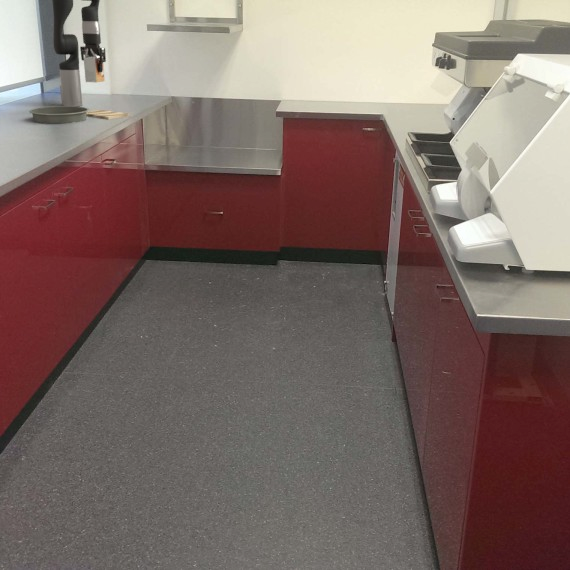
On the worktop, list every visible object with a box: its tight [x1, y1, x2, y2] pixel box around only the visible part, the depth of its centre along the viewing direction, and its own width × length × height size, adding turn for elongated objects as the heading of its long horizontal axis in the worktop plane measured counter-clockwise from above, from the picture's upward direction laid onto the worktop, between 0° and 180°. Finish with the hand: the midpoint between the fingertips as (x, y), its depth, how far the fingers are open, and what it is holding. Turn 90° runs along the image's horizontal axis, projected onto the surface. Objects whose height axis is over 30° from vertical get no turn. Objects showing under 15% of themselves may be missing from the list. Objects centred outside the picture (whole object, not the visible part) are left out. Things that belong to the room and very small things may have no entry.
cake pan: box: [28, 105, 90, 124], centre depth 294 cm, size 25×25×4 cm
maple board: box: [86, 109, 132, 120], centre depth 308 cm, size 20×13×1 cm, turn 55°
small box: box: [83, 56, 105, 83], centre depth 304 cm, size 8×6×10 cm
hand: (94, 71), depth 304 cm, fingers closed on small box, 7 cm apart
